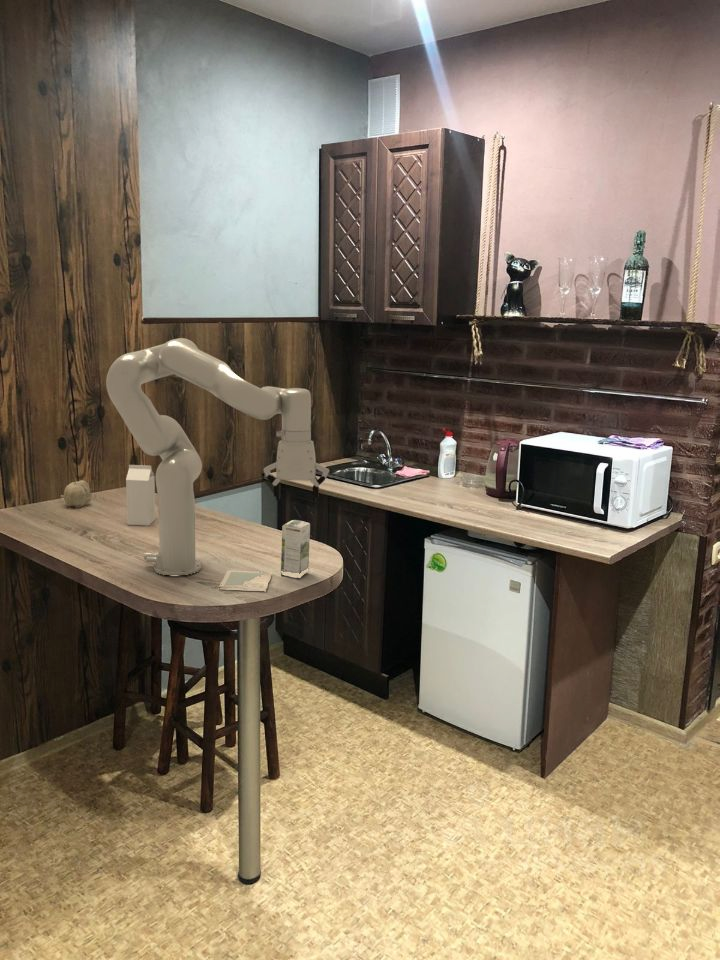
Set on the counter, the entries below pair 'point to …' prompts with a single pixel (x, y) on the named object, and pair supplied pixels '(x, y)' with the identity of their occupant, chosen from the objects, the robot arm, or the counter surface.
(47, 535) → the counter surface
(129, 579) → the counter surface
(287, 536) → the syrup box
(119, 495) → the counter surface
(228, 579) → the plate
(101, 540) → the counter surface
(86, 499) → the beige lumpy ball
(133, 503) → the milk carton
